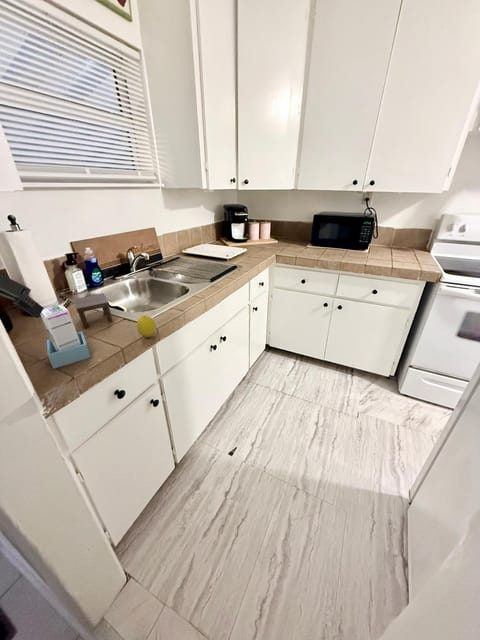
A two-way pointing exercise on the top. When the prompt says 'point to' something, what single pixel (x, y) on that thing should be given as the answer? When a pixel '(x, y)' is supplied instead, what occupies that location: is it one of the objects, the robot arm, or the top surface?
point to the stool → (92, 306)
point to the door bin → (68, 353)
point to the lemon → (146, 326)
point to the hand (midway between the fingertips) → (12, 310)
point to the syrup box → (60, 327)
